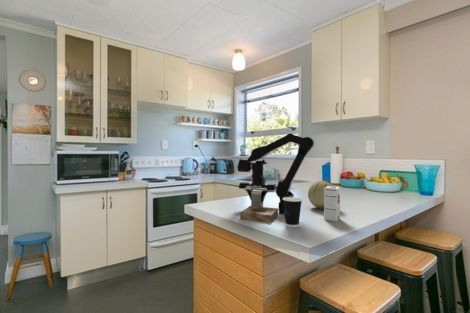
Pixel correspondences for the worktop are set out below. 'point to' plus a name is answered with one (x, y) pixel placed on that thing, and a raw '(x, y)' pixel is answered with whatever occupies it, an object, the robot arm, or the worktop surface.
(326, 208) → the syrup box
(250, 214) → the socket block
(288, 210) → the dixie cup
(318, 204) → the cantaloupe
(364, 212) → the worktop surface
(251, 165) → the robot arm
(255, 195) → the plug
